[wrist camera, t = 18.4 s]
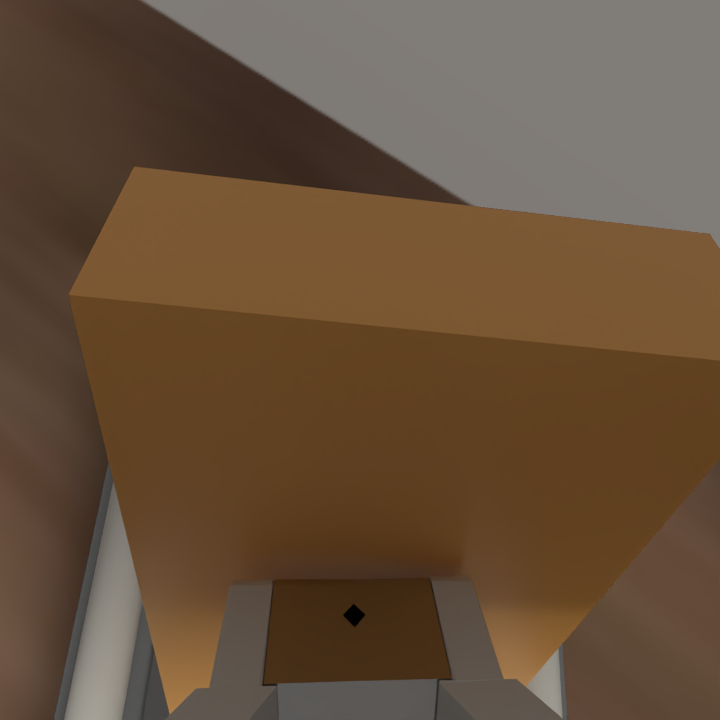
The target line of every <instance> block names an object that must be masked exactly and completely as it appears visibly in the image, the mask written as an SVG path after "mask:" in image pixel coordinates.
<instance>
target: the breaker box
mask: <svg viewBox="0 0 720 720" xmlns="http://www.w3.org/2000/svg"><path fill="white" fill-rule="evenodd" d="M526 687H527V688H528V689H529V690H530V691H531V692H532V693H534V694H535V695H536V696H537V697H538V698H539V699H541V700H542V701H543V702H544V703H545V704H546V705H547V706H549V707H550V708H551V709H552V710H553V711H554V712H556V713H557V714H558V715H559V716H560V717H561V718H563V719H564V720H567V709H566V692H565V676H564V659H563V643H562V645H561V646H560V647H559V648H558V649H557V650H556V652H555V653H554V654H553V655H552V656H551V658H550V659H549V660H548V661H547V662H546V663H545V665H544V666H543V667H542V668H541V669H540V670H539V672H538V673H537V674H536V675H535V676H534V677H533V679H532V680H531V681H530V682H529V683H528V685H527V686H526ZM169 715H170V714H169V709H168V705H167V701H166V697H165V693H164V689H163V685H162V680H161V676H160V672H159V668H158V664H157V660H156V656H155V651H154V647H153V643H152V639H151V635H150V631H149V627H148V622H147V618H146V614H145V610H144V606H143V602H142V598H141V593H140V589H139V585H138V581H137V577H136V573H135V569H134V564H133V560H132V556H131V552H130V548H129V544H128V540H127V535H126V531H125V527H124V523H123V519H122V515H121V511H120V506H119V502H118V498H117V494H116V490H115V486H114V482H113V477H112V473H111V469H110V465H109V462H108V467H107V472H106V476H105V481H104V486H103V491H102V495H101V500H100V505H99V509H98V514H97V519H96V523H95V528H94V533H93V538H92V542H91V547H90V552H89V556H88V561H87V566H86V571H85V575H84V580H83V585H82V589H81V594H80V599H79V603H78V608H77V613H76V618H75V622H74V627H73V632H72V636H71V641H70V646H69V651H68V655H67V660H66V665H65V669H64V674H63V679H62V683H61V688H60V693H59V698H58V702H57V707H56V712H55V716H54V720H165V719H166V718H167V717H168V716H169Z"/></svg>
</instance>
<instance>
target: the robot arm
mask: <svg viewBox="0 0 720 720" xmlns="http://www.w3.org/2000/svg"><path fill="white" fill-rule="evenodd" d="M165 720H564V719H563V718H561V717H560V716H559V715H558V714H557V713H556V712H554V711H553V710H552V709H551V708H550V707H549V706H547V705H546V704H545V703H544V702H543V701H542V700H541V699H539V698H538V697H537V696H536V695H535V694H534V693H532V692H531V691H530V690H529V689H528V688H527V687H525V686H524V685H523V684H522V683H521V682H520V681H518V680H517V679H504V678H503V675H502V672H501V669H500V666H499V663H498V660H497V656H496V653H495V650H494V647H493V644H492V641H491V638H490V634H489V631H488V628H487V625H486V622H485V619H484V616H483V612H482V609H481V606H480V603H479V600H478V597H477V594H476V590H475V587H474V584H473V581H472V579H471V578H470V577H469V576H468V575H451V576H428V578H393V579H356V580H355V579H275V581H273V580H233V582H232V584H231V586H230V587H229V591H228V596H227V601H226V606H225V611H224V616H223V621H222V626H221V631H220V636H219V641H218V646H217V651H216V656H215V661H214V666H213V671H212V676H211V681H210V686H209V688H196V689H195V690H194V691H193V692H192V693H191V694H190V695H189V696H188V697H187V698H186V699H185V700H184V701H183V702H182V703H181V704H180V705H179V706H178V707H177V708H176V709H175V710H174V711H173V712H172V713H171V714H170V715H169V716H168V717H167V718H166V719H165Z"/></svg>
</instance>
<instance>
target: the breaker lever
mask: <svg viewBox="0 0 720 720" xmlns="http://www.w3.org/2000/svg"><path fill="white" fill-rule="evenodd" d="M69 299H70V303H71V308H72V312H73V316H74V320H75V324H76V328H77V332H78V337H79V341H80V345H81V349H82V353H83V357H84V361H85V366H86V370H87V374H88V378H89V382H90V386H91V390H92V395H93V399H94V403H95V407H96V411H97V415H98V419H99V424H100V428H101V432H102V436H103V440H104V444H105V448H106V453H107V457H108V461H109V465H110V469H111V473H112V477H113V482H114V486H115V490H116V494H117V498H118V502H119V506H120V511H121V515H122V519H123V523H124V527H125V531H126V535H127V540H128V544H129V548H130V552H131V556H132V560H133V564H134V569H135V573H136V577H137V581H138V585H139V589H140V593H141V598H142V602H143V606H144V610H145V614H146V618H147V622H148V627H149V631H150V635H151V639H152V643H153V647H154V651H155V656H156V660H157V664H158V668H159V672H160V676H161V680H162V685H163V689H164V693H165V697H166V701H167V705H168V709H169V714H171V713H172V712H173V711H174V710H175V709H176V708H177V707H178V706H179V705H180V704H181V703H182V702H183V701H184V700H185V699H186V698H187V697H188V696H189V695H190V694H191V693H192V692H193V691H194V690H195V689H196V688H209V686H210V681H211V676H212V671H213V666H214V661H215V656H216V651H217V646H218V641H219V636H220V631H221V626H222V621H223V616H224V611H225V606H226V601H227V596H228V591H229V587H230V586H231V584H232V582H233V580H273V581H275V579H355V580H356V579H393V578H428V576H451V575H468V576H469V577H470V578H471V579H472V581H473V584H474V587H475V590H476V594H477V597H478V600H479V603H480V606H481V609H482V612H483V616H484V619H485V622H486V625H487V628H488V631H489V634H490V638H491V641H492V644H493V647H494V650H495V653H496V656H497V660H498V663H499V666H500V669H501V672H502V675H503V678H504V679H517V680H518V681H520V682H521V683H522V684H523V685H524V686H525V687H526V686H527V685H528V683H529V682H530V681H531V680H532V679H533V677H534V676H535V675H536V674H537V673H538V672H539V670H540V669H541V668H542V667H543V666H544V665H545V663H546V662H547V661H548V660H549V659H550V658H551V656H552V655H553V654H554V653H555V652H556V650H557V649H558V648H559V647H560V646H561V645H562V643H563V642H564V641H565V640H566V639H567V638H568V636H569V635H570V634H571V633H572V632H573V630H574V629H575V628H576V627H577V626H578V625H579V623H580V622H581V621H582V620H583V619H584V618H585V616H586V615H587V614H588V613H589V612H590V610H591V609H592V608H593V607H594V606H595V605H596V603H597V602H598V601H599V600H600V599H601V598H602V596H603V595H604V594H605V593H606V592H607V590H608V589H609V588H610V587H611V586H612V585H613V583H614V582H615V581H616V580H617V579H618V578H619V576H620V575H621V574H622V573H623V572H624V571H625V569H626V568H627V567H628V566H629V565H630V563H631V562H632V561H633V560H634V559H635V558H636V556H637V555H638V554H639V553H640V552H641V551H642V549H643V548H644V547H645V546H646V545H647V543H648V542H649V541H650V540H651V539H652V538H653V536H654V535H655V534H656V533H657V532H658V531H659V529H660V528H661V527H662V526H663V525H664V523H665V522H666V521H667V520H668V519H669V518H670V516H671V515H672V514H673V513H674V512H675V511H676V509H677V508H678V507H679V506H680V505H681V503H682V502H683V501H684V500H685V499H686V498H687V496H688V495H689V494H690V493H691V492H692V491H693V489H694V488H695V487H696V486H697V485H698V484H699V482H700V481H701V480H702V479H703V478H704V476H705V475H706V474H707V473H708V472H709V471H710V469H711V468H712V467H713V466H714V465H715V464H716V462H717V461H718V460H719V459H720V249H719V248H718V246H717V244H716V243H715V241H714V240H713V238H712V237H711V235H710V234H706V233H698V232H689V231H681V230H672V229H664V228H654V227H647V226H638V225H629V224H621V223H612V222H603V221H595V220H587V219H578V218H569V217H560V216H553V215H544V214H535V213H527V212H518V211H510V210H501V209H493V208H484V207H476V206H467V205H459V204H450V203H442V202H433V201H425V200H416V199H407V198H399V197H390V196H382V195H373V194H365V193H356V192H348V191H339V190H331V189H322V188H313V187H305V186H296V185H288V184H279V183H271V182H262V181H254V180H245V179H237V178H228V177H220V176H211V175H202V174H194V173H185V172H177V171H168V170H160V169H151V168H143V167H134V168H133V170H132V172H131V174H130V176H129V178H128V179H127V181H126V183H125V185H124V187H123V189H122V191H121V193H120V195H119V197H118V199H117V201H116V203H115V205H114V207H113V209H112V211H111V213H110V215H109V217H108V219H107V220H106V222H105V224H104V226H103V228H102V230H101V232H100V234H99V236H98V238H97V240H96V242H95V244H94V246H93V248H92V250H91V252H90V254H89V256H88V258H87V259H86V261H85V263H84V265H83V267H82V269H81V271H80V273H79V275H78V277H77V279H76V281H75V283H74V285H73V287H72V289H71V291H70V293H69Z"/></svg>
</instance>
